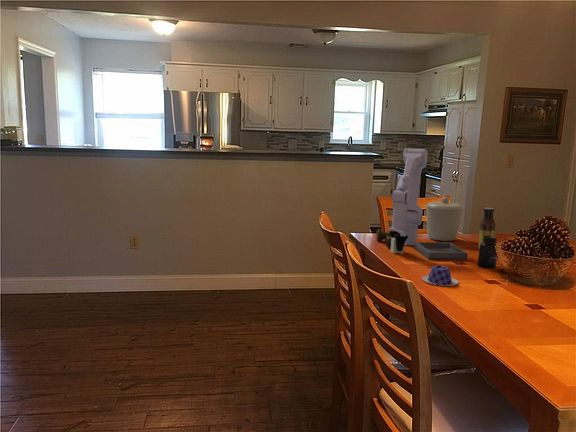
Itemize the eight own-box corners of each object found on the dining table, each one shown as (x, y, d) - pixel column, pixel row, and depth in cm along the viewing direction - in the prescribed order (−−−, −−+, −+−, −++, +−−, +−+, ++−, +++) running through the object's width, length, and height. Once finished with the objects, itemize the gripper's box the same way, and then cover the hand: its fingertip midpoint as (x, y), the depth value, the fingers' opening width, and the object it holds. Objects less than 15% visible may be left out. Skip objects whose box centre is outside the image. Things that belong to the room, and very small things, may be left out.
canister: (416, 239, 222) (420, 196, 219) (430, 233, 237) (433, 193, 233) (454, 245, 212) (458, 200, 208) (465, 239, 226) (470, 197, 222)
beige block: (390, 250, 198) (391, 237, 197) (400, 251, 198) (401, 237, 197) (393, 253, 194) (394, 239, 193) (403, 253, 194) (404, 240, 193)
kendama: (380, 249, 203) (374, 237, 223) (402, 250, 203) (394, 239, 222) (381, 236, 202) (375, 226, 221) (403, 237, 201) (395, 227, 221)
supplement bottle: (493, 270, 173) (497, 239, 171) (475, 266, 177) (478, 236, 175) (498, 266, 179) (501, 236, 176) (480, 263, 183) (483, 234, 180)
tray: (414, 248, 203) (415, 242, 203) (449, 249, 204) (450, 242, 204) (428, 259, 186) (429, 252, 185) (466, 260, 187) (467, 253, 186)
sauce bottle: (490, 251, 203) (495, 207, 199) (495, 254, 197) (500, 209, 193) (475, 250, 203) (480, 206, 200) (479, 254, 197) (484, 208, 194)
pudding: (425, 274, 166) (426, 261, 165) (459, 280, 161) (461, 266, 160) (418, 284, 155) (419, 269, 154) (455, 290, 150) (457, 275, 149)
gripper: (385, 214, 200) (383, 244, 203) (394, 221, 186) (392, 253, 188) (401, 215, 201) (399, 245, 203) (411, 221, 186) (409, 253, 189)
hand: (397, 249), depth 196 cm, fingers open, 6 cm apart
